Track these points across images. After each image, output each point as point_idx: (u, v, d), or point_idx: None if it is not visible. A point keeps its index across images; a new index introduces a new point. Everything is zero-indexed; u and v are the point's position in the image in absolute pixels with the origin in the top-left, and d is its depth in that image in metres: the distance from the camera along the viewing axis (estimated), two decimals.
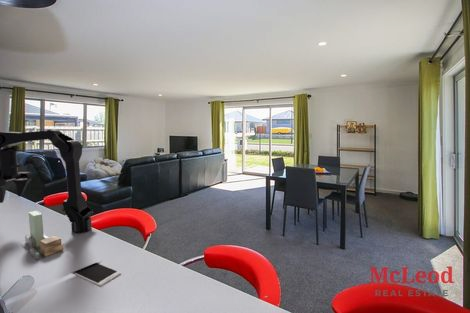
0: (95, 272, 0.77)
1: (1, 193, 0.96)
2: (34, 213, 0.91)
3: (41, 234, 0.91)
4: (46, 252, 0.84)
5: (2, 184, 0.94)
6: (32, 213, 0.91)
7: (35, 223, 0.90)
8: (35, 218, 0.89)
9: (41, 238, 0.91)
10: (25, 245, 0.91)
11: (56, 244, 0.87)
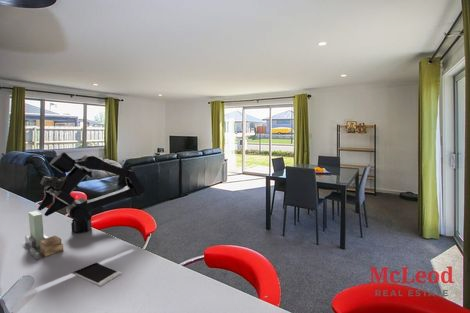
0: (95, 272, 0.77)
1: (59, 208, 0.93)
2: (34, 213, 0.91)
3: (41, 234, 0.91)
4: (46, 252, 0.84)
5: None
6: (32, 213, 0.91)
7: (35, 223, 0.90)
8: (35, 218, 0.89)
9: (41, 238, 0.91)
10: (25, 245, 0.91)
11: (56, 244, 0.87)
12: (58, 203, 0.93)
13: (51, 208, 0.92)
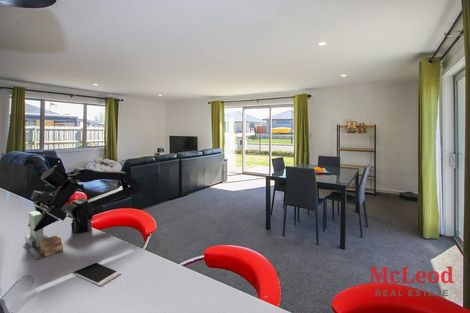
0: (95, 272, 0.77)
1: (48, 223, 0.92)
2: (34, 213, 0.91)
3: (41, 234, 0.91)
4: (46, 252, 0.84)
5: None
6: (32, 213, 0.91)
7: (35, 223, 0.90)
8: (35, 218, 0.89)
9: (41, 238, 0.91)
10: (25, 245, 0.91)
11: (56, 244, 0.87)
12: (48, 218, 0.92)
13: (41, 223, 0.90)
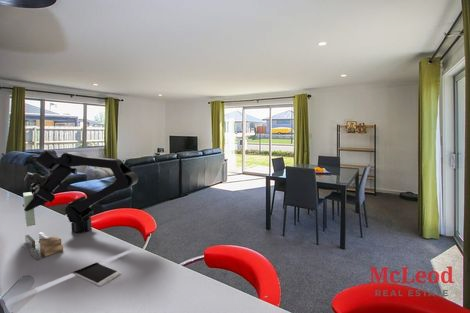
0: (95, 272, 0.77)
1: (38, 204, 0.94)
2: (26, 194, 0.95)
3: (32, 214, 0.95)
4: (46, 252, 0.84)
5: None
6: (25, 194, 0.95)
7: (26, 203, 0.93)
8: (26, 198, 0.93)
9: (32, 218, 0.95)
10: (25, 245, 0.91)
11: (56, 244, 0.87)
12: (38, 199, 0.94)
13: (31, 204, 0.93)
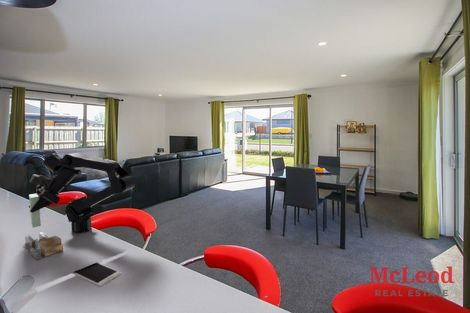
0: (95, 272, 0.77)
1: (44, 206, 0.96)
2: (32, 195, 0.96)
3: (38, 216, 0.96)
4: (46, 252, 0.84)
5: None
6: (31, 195, 0.97)
7: (32, 205, 0.94)
8: (32, 200, 0.94)
9: (38, 219, 0.96)
10: (25, 245, 0.91)
11: (56, 244, 0.87)
12: (44, 200, 0.96)
13: (36, 205, 0.94)
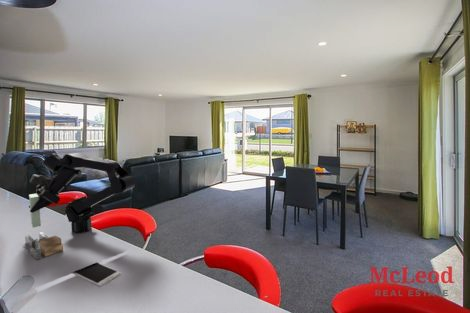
0: (95, 272, 0.77)
1: (44, 206, 0.96)
2: (32, 195, 0.96)
3: (38, 216, 0.96)
4: (46, 252, 0.84)
5: None
6: (31, 195, 0.97)
7: (32, 205, 0.94)
8: (32, 200, 0.94)
9: (38, 219, 0.96)
10: (25, 245, 0.91)
11: (56, 244, 0.87)
12: (44, 200, 0.96)
13: (36, 205, 0.94)
